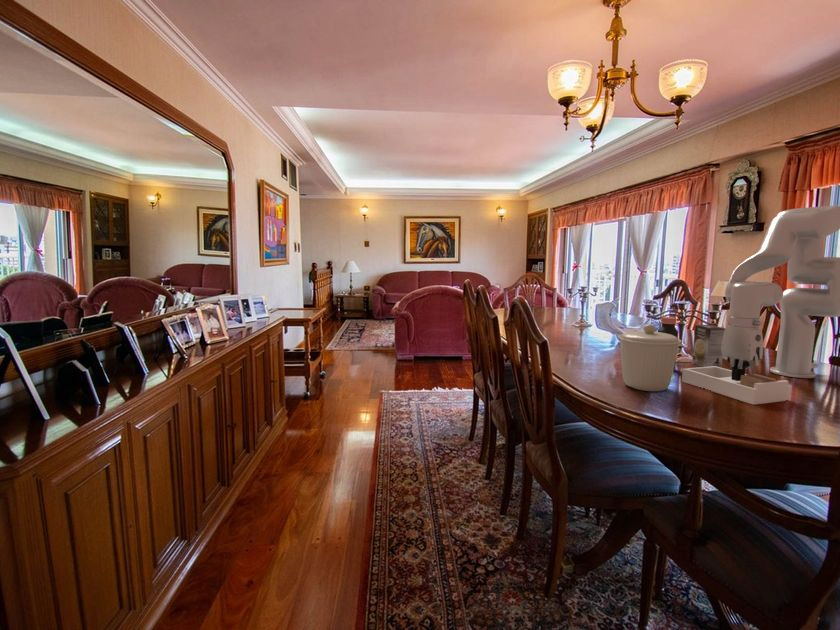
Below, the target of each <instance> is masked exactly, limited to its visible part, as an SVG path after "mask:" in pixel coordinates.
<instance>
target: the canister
mask: <svg viewBox="0 0 840 630" xmlns="http://www.w3.org/2000/svg"><path fill="white" fill-rule="evenodd" d="M656 330H657V327H656V325H655V324H651V323H648V324H645V325H644V326H643V330H629V331H625V332H622V333H621V334H618V336H617V338H618V339H619V340H620V341H619V342H620V343H619V344H620V346H619V347H620V360H621V372H622V373H621V374H622V379H623V382H624V384H625V385H626V386H628V387H629V388H632V389H635V390H639V391H645V392H662V391H665V390H667V389H668V388H669V386H670V385H671V381H672V377H673V373H674V371H675V370H674V365H675V361H676V362H677V356H678V351H679V345H680V344H682V341H683V340H681V339H680V338H679V337H678V338H677V337H675V336H673V335H671V334H667V333H661V332H658V331H656ZM673 370H674V371H673Z"/></svg>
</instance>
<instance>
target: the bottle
mask: <svg viewBox="0 0 840 630" xmlns="http://www.w3.org/2000/svg"><path fill="white" fill-rule="evenodd" d="M660 319H661V320H660V324H661V327H660V328H658V329H657V332H661V333H667V334H671V335H673V336H675V337H677V338H678V339H679V330H678V329H677V328H676V326H677V325H676V324H677V317H675V316H674V317H673V316H661V318H660ZM676 362H677V360H676V361H675V365H674V370H673V372H674V371H675V370H676V366H677V365H676Z"/></svg>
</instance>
